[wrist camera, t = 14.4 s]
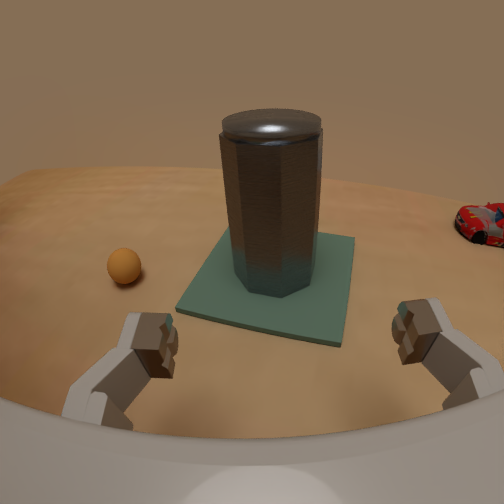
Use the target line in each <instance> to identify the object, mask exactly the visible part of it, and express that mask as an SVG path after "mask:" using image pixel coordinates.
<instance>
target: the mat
mask: <svg viewBox="0 0 504 504" xmlns="http://www.w3.org/2000/svg"><path fill="white" fill-rule="evenodd" d="M354 240H355V237H348V236H341V235H335V234H328V233H321V232H318V234H317V246H316V258H315V266H314V270H313V274H312V278H311V282H310V286H308V287H306V288H304V289H302V290H299V291H297V292H295V293H293V294H290V295H288V296H286V297H284V298H276V297H271V296H265V295H260V294H254V293H249V292H248V291H247V289H246V288H245V287H244V285H243V284H242V283H241V281H240V280H239V278H238V277H237V276H236V274H235V272H234V264H233V256H232V247H231V239H230V231H229V227H228V228H227V230H226V231H225V233H224V234H223V236H222V237H221V239H220V240H219V242H218V243H217V244H216V246H215V247H214V249H213V250H212V252H211V253H210V255H209V256H208V258H207V259H206V261H205V262H204V264H203V265H202V267H201V268H200V270H199V271H198V273H197V274H196V276H195V277H194V279H193V280H192V282H191V283H190V285H189V286H188V288H187V289H186V291H185V293H184V294H183V296H182V297H181V299H180V300H179V302H178V303H177V305H176V306H175V309H176V312H180V313H183V314H187V315H191V316H195V317H199V318H203V319H207V320H211V321H215V322H219V323H223V324H227V325H232V326H236V327H240V328H245V329H249V330H254V331H258V332H263V333H268V334H272V335H277V336H282V337H287V338H292V339H297V340H303V341H308V342H313V343H319V344H325V345H330V346H336V347H340V346H341V342H342V336H343V330H344V324H345V317H346V310H347V303H348V295H349V287H350V279H351V270H352V261H353V251H354Z"/></svg>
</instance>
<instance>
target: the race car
mask: <svg viewBox="0 0 504 504" xmlns="http://www.w3.org/2000/svg"><path fill="white" fill-rule="evenodd" d="M455 224H456V226H457V228H458V229H459V230H460V232H461V233H462V234H463V235H465V236H466V237H467V238H469V239H472V242H473V243H474V244H475V243H476V244H480V245H482V244H484V243H485V242H486V244H489V245H495V246H501V247H504V203H495V204H490V203H489V202H488V204H487V205H486V206H473V205H470V206H464V207H462V208H461V209H460V210H459V211H458V213H457V215H456V219H455Z"/></svg>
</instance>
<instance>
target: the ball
mask: <svg viewBox="0 0 504 504" xmlns="http://www.w3.org/2000/svg"><path fill="white" fill-rule="evenodd" d="M107 270H108V273H109V275H110V276H111V278H112V279H113V280H114V281H116V282H118V283H121V284H127V283H131V282H133V281H134V280H135V279H136V278H137V277H138V276H139V274H140V271H141V261H140V258H139V257H138V255H137V254H136V253H135V252H134V251H132V250H130V249H127V248H121V249H118V250H116V251H114V252H113V253H112V254H111V255H110V257H109V259H108V262H107Z"/></svg>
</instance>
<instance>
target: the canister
mask: <svg viewBox="0 0 504 504" xmlns="http://www.w3.org/2000/svg"><path fill="white" fill-rule="evenodd" d="M222 129H223V132H222V133H221V134H219V140H220V150H221V159H222V168H223V178H224V187H225V196H226V205H227V213H228V222H229V231H230V239H231V247H232V256H233V264H234V272H235V274H236V276H237V277H238V278H239V280H240V281H241V283H242V284H243V285H244V287H245V288H246V289H247V291H248V292H249V293H254V294H260V295H265V296H271V297H276V298H284V297H286V296H288V295H290V294H293V293H295V292H297V291H299V290H302V289H304V288H306V287H308V286H310V282H311V278H312V274H313V270H314V266H315V258H316V246H317V234H318V220H319V205H320V188H321V168H322V142H323V129H322V128H321V118H320V117H319V116H317V115H315V114H313V113H309V112H305V111H300V110H293V109H257V110H250V111H244V112H239V113H236V114H232V115H230V116H228V117H226V118H224V119H223V121H222Z"/></svg>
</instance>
